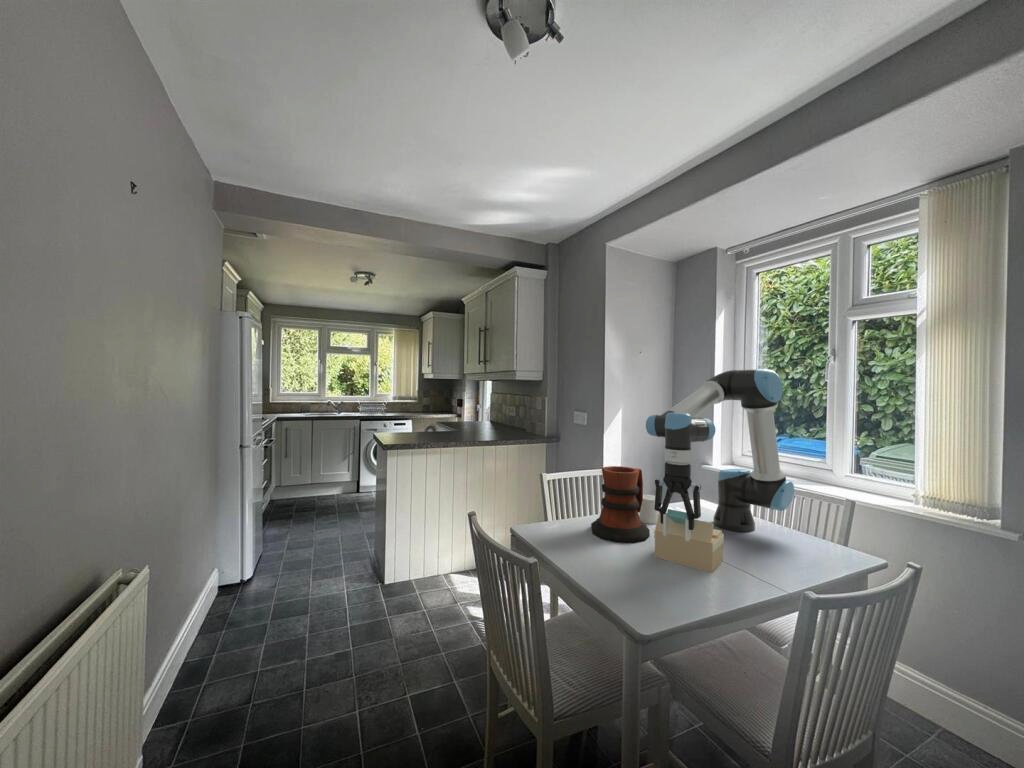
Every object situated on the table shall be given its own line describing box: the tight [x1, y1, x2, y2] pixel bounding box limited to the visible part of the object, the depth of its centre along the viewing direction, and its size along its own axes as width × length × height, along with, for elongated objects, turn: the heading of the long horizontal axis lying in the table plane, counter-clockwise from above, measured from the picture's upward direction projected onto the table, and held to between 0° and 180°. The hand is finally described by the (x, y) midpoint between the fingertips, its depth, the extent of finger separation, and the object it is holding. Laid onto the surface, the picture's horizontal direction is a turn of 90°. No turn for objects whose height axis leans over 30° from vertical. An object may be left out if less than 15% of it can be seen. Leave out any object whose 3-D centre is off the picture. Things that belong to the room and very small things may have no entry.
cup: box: [638, 494, 659, 525], centre depth 180 cm, size 8×12×10 cm
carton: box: [653, 528, 725, 574], centre depth 140 cm, size 12×18×10 cm, turn 50°
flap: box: [655, 508, 715, 543], centre depth 133 cm, size 6×17×9 cm
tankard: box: [590, 465, 651, 544], centre depth 165 cm, size 22×25×25 cm
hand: (676, 536), depth 131 cm, fingers closed on flap, 6 cm apart
